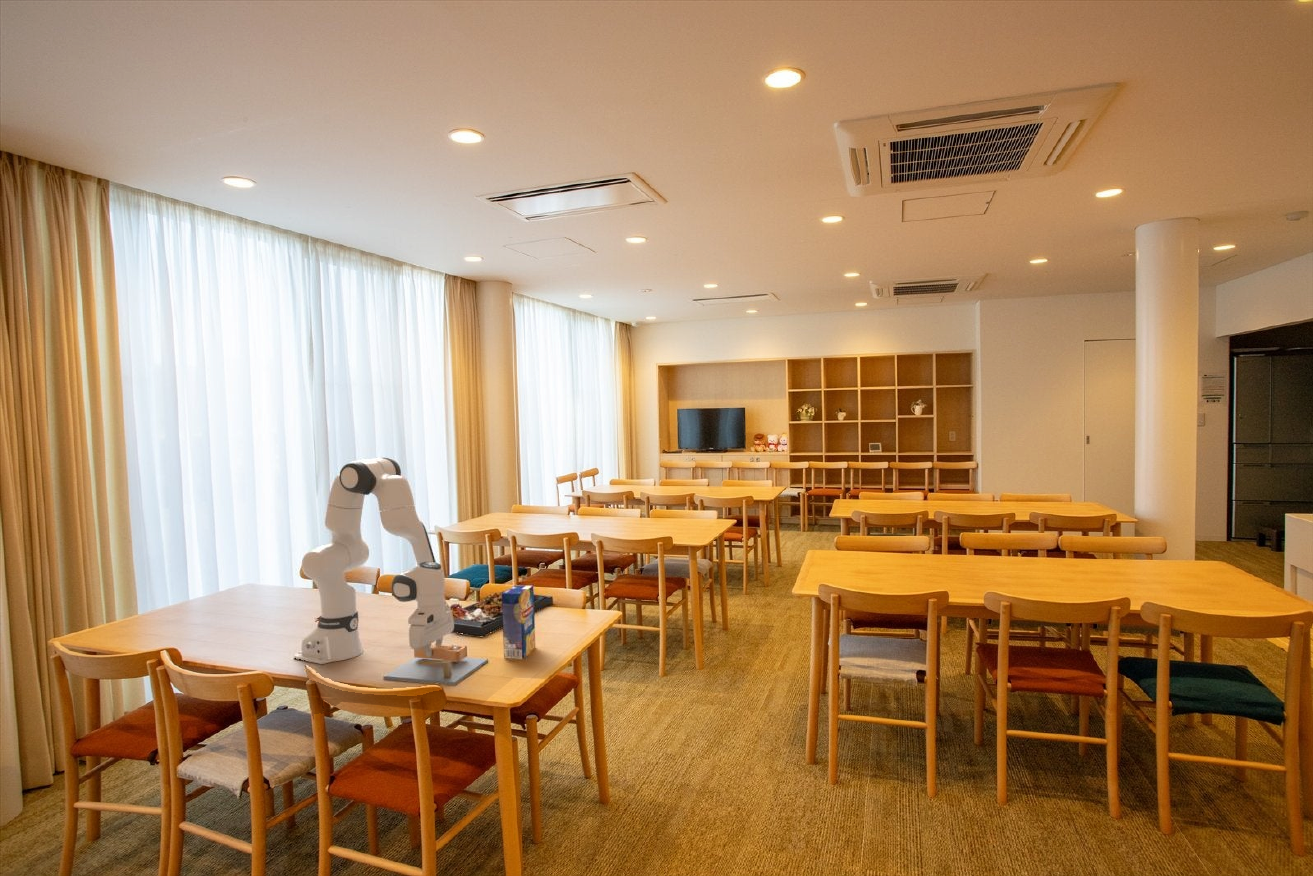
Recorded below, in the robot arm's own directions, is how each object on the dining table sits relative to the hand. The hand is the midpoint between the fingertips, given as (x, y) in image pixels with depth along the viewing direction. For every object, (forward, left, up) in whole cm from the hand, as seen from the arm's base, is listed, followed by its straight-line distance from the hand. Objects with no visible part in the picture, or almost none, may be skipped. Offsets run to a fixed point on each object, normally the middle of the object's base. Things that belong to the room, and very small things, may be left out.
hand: (433, 653), depth 225 cm
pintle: (+8, 0, -2) cm, 8 cm away
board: (+4, -5, -3) cm, 7 cm away
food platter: (-6, +51, -4) cm, 52 cm away
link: (0, 0, -1) cm, 1 cm away
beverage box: (+24, +14, -4) cm, 28 cm away
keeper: (+8, -12, -2) cm, 15 cm away
